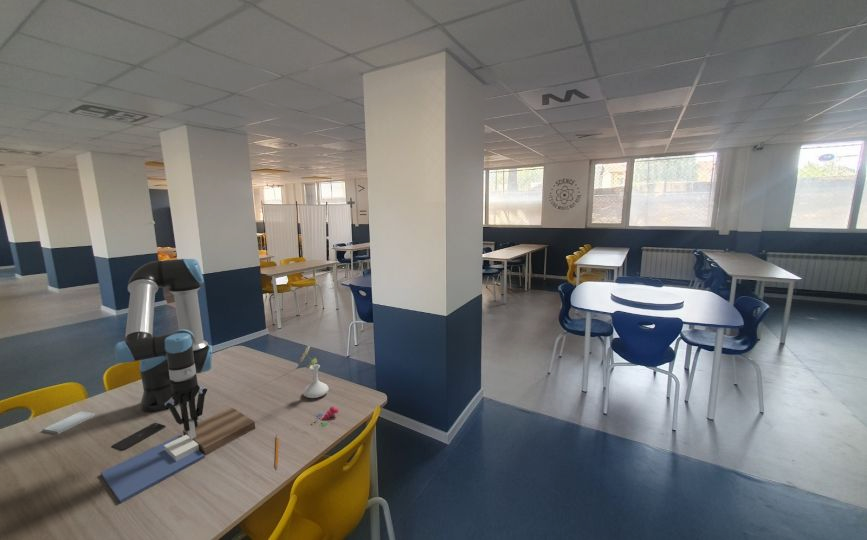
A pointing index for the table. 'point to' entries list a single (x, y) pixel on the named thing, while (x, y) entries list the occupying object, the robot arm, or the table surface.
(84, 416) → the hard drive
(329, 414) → the toy pieces
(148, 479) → the mat
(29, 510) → the table surface
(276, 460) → the pencil
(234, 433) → the brown board
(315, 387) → the flower in vase
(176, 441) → the tile
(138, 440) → the smartphone
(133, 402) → the table surface
